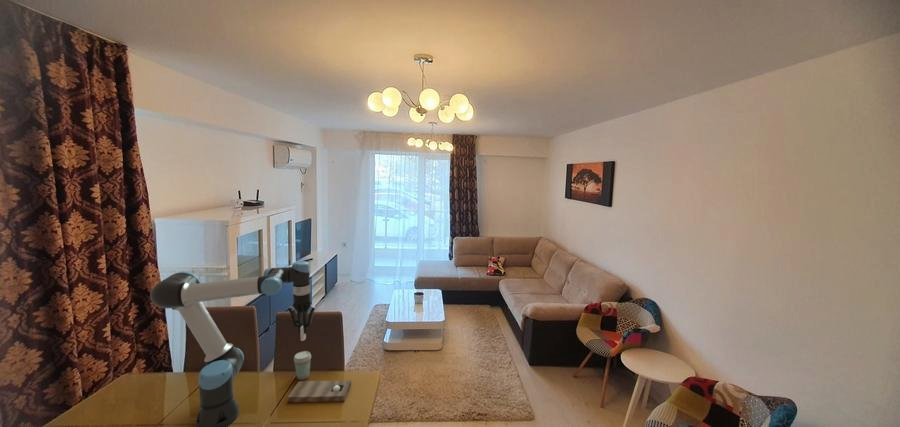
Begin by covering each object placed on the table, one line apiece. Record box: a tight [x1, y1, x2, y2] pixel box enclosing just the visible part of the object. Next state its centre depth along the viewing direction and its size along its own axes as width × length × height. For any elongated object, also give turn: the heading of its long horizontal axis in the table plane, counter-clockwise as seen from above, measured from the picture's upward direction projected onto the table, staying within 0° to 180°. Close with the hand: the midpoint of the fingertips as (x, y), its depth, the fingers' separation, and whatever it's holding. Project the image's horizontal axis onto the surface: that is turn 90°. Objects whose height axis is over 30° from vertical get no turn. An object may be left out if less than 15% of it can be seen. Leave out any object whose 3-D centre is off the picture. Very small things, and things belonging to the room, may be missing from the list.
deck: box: [287, 380, 352, 403], centre depth 158 cm, size 26×12×2 cm, turn 93°
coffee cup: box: [293, 350, 312, 381], centre depth 171 cm, size 9×9×12 cm
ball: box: [333, 385, 341, 392], centre depth 158 cm, size 4×4×4 cm
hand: (303, 339), depth 161 cm, fingers closed
